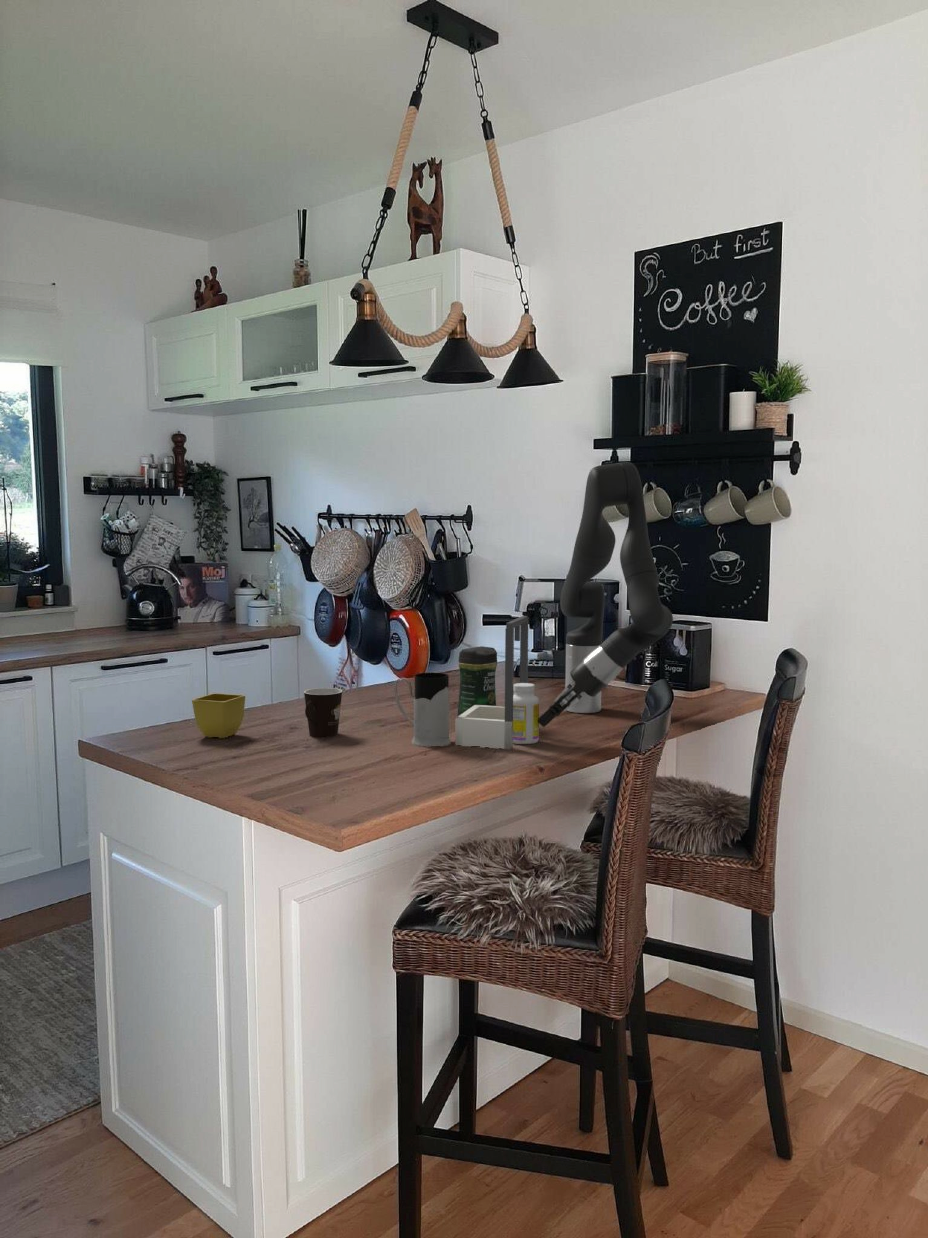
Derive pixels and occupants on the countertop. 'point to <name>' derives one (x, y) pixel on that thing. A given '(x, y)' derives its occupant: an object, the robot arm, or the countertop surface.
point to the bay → (497, 721)
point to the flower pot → (219, 714)
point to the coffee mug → (323, 711)
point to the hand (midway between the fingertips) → (540, 723)
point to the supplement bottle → (525, 714)
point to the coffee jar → (477, 677)
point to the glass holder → (429, 709)
